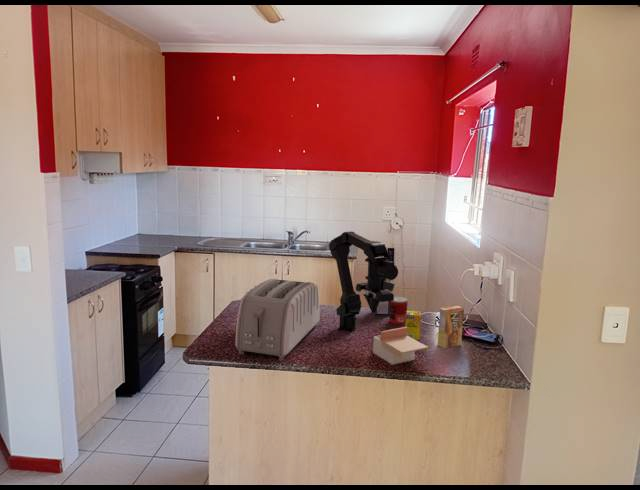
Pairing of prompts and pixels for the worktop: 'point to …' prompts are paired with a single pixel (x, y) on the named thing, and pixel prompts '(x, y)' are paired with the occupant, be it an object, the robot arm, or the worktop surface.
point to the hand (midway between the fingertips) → (373, 312)
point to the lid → (400, 342)
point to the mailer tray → (390, 353)
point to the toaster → (276, 316)
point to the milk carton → (383, 306)
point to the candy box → (450, 326)
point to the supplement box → (413, 324)
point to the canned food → (398, 311)
